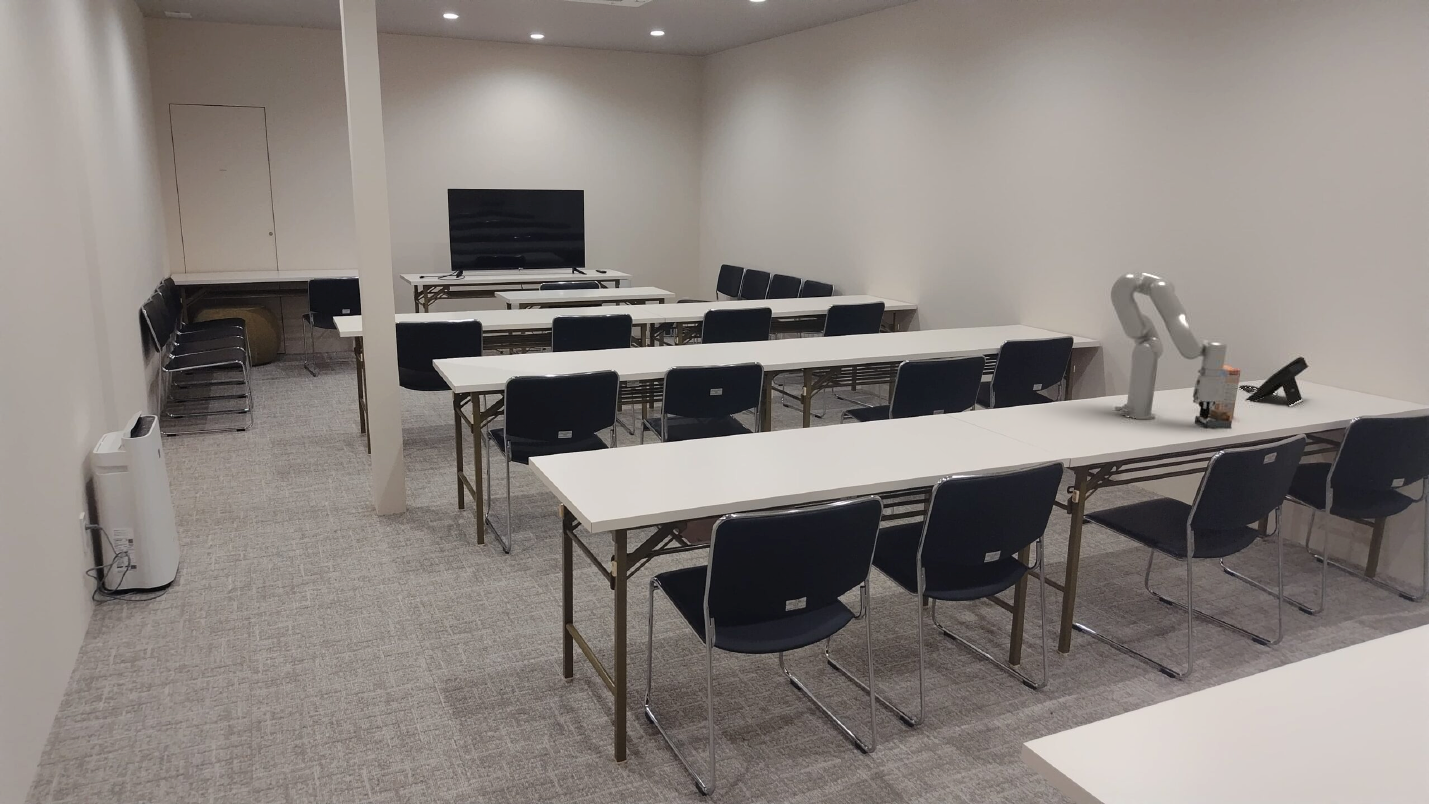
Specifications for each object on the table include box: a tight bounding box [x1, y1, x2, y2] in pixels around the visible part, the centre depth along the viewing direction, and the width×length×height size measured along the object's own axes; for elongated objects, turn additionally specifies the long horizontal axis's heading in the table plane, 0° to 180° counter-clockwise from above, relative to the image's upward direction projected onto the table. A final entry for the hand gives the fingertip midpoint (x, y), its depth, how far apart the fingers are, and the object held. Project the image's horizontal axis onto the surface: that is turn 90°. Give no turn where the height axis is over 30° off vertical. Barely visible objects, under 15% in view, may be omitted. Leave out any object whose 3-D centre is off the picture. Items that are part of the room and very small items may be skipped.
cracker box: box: [1209, 363, 1242, 420], centre depth 371 cm, size 14×6×21 cm, turn 179°
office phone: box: [1238, 356, 1309, 406], centre depth 405 cm, size 29×28×20 cm
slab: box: [1209, 409, 1228, 420], centre depth 356 cm, size 4×5×3 cm
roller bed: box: [1194, 414, 1234, 429], centre depth 356 cm, size 10×8×5 cm
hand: (1203, 417), depth 356 cm, fingers closed
